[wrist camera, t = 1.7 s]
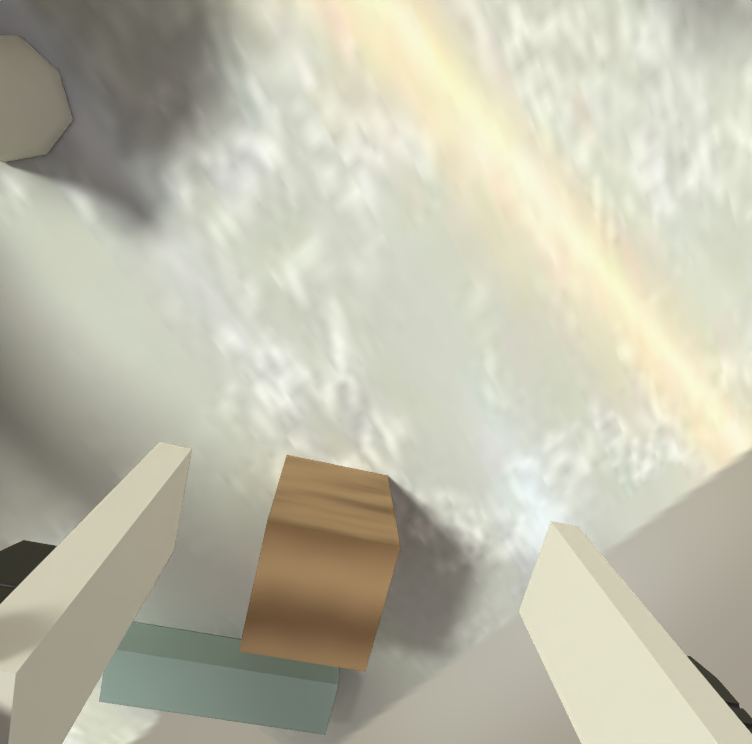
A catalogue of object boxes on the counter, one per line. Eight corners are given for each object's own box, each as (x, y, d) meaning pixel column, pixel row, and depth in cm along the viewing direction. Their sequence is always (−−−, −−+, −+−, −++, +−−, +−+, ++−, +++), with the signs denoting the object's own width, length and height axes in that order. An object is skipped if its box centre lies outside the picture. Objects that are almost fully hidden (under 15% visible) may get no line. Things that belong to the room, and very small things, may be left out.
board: (124, 620, 42) (107, 648, 39) (339, 655, 44) (338, 684, 41) (115, 670, 43) (99, 701, 40) (326, 703, 45) (325, 734, 42)
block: (286, 454, 39) (267, 522, 29) (387, 475, 40) (400, 547, 30) (264, 556, 41) (238, 651, 31) (360, 574, 42) (365, 671, 32)
